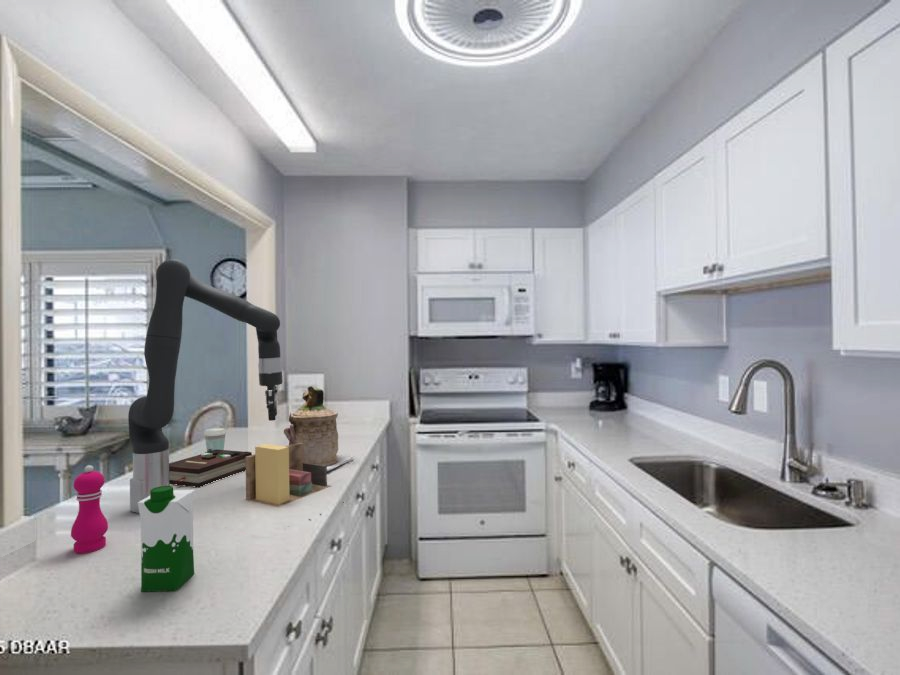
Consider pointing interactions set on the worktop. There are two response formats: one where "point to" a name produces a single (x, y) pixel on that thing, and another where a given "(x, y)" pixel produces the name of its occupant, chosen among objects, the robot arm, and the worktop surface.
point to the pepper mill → (89, 513)
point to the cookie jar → (316, 431)
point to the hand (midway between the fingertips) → (272, 418)
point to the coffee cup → (215, 438)
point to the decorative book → (207, 467)
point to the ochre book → (272, 473)
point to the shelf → (292, 465)
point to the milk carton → (166, 539)
